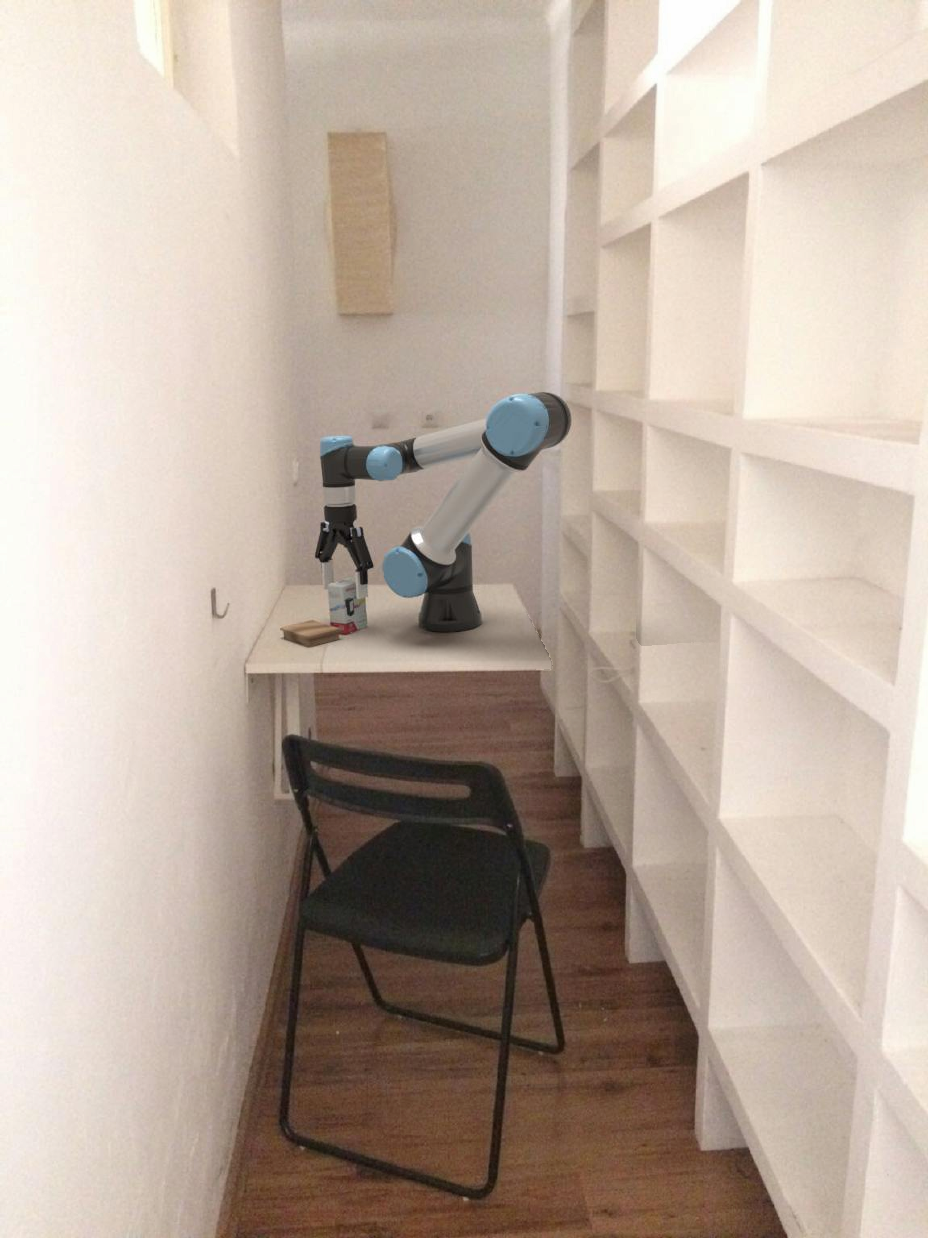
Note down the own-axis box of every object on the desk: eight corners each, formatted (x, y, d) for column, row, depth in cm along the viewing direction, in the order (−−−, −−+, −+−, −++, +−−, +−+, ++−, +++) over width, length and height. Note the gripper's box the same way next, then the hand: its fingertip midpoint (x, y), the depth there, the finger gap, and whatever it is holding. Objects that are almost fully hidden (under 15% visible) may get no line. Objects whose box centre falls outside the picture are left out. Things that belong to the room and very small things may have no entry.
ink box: (346, 635, 227) (342, 586, 224) (329, 633, 230) (326, 584, 227) (368, 626, 234) (365, 578, 231) (352, 624, 237) (349, 577, 234)
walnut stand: (342, 639, 224) (341, 628, 223) (309, 647, 218) (308, 637, 218) (313, 630, 233) (312, 620, 232) (280, 638, 227) (279, 627, 226)
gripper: (385, 507, 218) (390, 598, 223) (322, 497, 236) (328, 582, 241) (358, 511, 213) (364, 604, 218) (296, 500, 231) (302, 587, 236)
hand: (345, 593), depth 230 cm, fingers open, 13 cm apart
